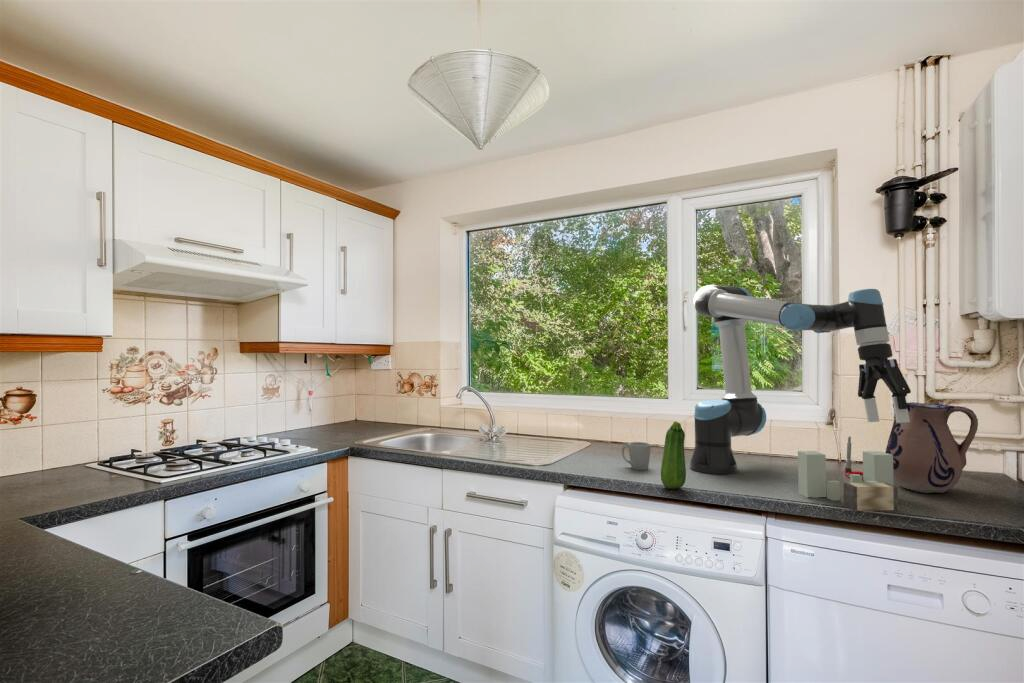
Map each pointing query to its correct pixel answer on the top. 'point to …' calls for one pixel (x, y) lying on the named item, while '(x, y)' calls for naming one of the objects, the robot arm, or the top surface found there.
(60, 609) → the top surface
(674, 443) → the vegetable
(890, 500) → the wooden block
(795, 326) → the robot arm
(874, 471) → the pale green fixture block
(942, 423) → the ceramic pitcher
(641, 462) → the cup
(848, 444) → the tow hook
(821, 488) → the pale green stepped block
